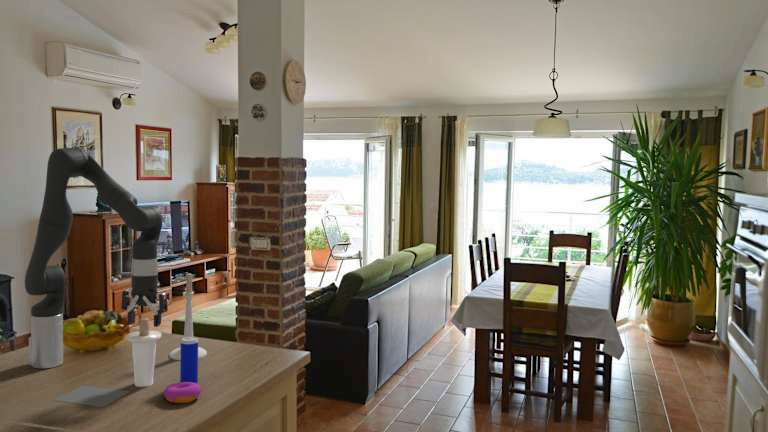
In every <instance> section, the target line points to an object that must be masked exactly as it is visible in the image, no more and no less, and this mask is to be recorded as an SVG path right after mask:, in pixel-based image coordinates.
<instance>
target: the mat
mask: <svg viewBox="0 0 768 432" xmlns="http://www.w3.org/2000/svg"><path fill="white" fill-rule="evenodd" d="M129 393H130V391H129V390H128V391H127V390H120V389H111V388H104V387H97V386H91V385H90V386H88V385H81V386H79V387H78V388H75V389H73V390H71V391H70V392H67V393H65V394H63V395H61V396H59V397H58V398H57V397H56V398H55V399H53V401H55V402H63V403H69V404H77V405H82V406H83V405H85V406H92V407H98V408H99V407H100V408H105V407H106V406H108V405H110V404H111V403H113V402H115V401H117V400H118V399H120V398H122V397H124V396H125V395H127V394H129Z"/></svg>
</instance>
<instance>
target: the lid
mask: <svg viewBox="0 0 768 432" xmlns="http://www.w3.org/2000/svg"><path fill="white" fill-rule="evenodd" d="M138 322H139V323H138V325H139V327H138V328H139V329H138V330H139V331H133V332H130V333H128V334H126V336H125V337H126V339H125V340H126V341H127V342H130V343H147V342H153V341H156V342H157V341H159V340H161V339H162V333H161V331H157V330H150V318H149V317H142V318H139V320H138Z"/></svg>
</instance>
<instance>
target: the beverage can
mask: <svg viewBox="0 0 768 432" xmlns="http://www.w3.org/2000/svg"><path fill="white" fill-rule="evenodd" d="M180 347H181V361H180V369H179V371H180V372H179V373H180V378H179V381H180V382H179V383H181V382H193V383H197V384H198V385H199V382H198V380H199V378H198V377H199V359H198V347H199V340H198V337H196V336H193V337H184V336H183V337H182V338H181V340H180Z"/></svg>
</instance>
